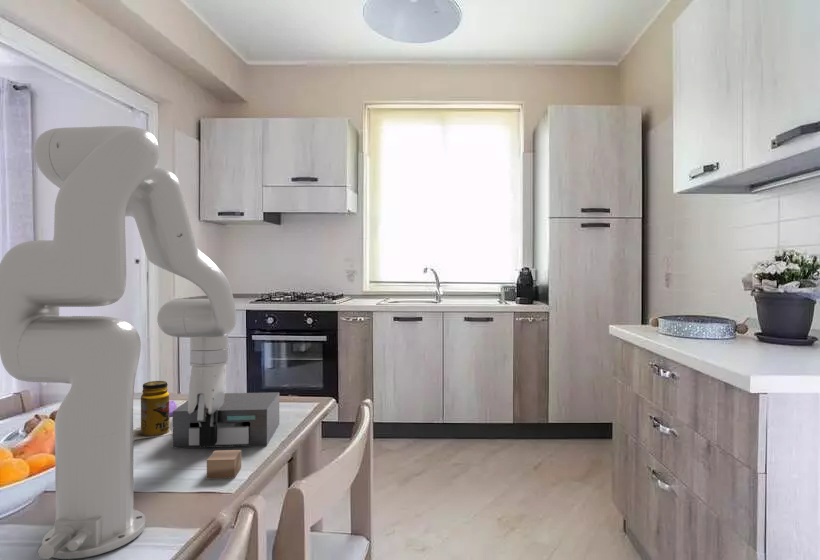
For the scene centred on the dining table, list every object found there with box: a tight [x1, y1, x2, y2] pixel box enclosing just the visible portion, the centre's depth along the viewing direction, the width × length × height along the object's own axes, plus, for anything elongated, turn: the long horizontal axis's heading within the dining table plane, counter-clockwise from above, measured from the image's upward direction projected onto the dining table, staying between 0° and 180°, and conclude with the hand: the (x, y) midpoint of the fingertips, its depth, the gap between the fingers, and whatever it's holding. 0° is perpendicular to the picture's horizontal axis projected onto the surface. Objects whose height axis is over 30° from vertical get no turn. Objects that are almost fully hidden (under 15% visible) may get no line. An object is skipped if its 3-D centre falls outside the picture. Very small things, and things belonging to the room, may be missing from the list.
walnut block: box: [206, 449, 242, 480], centre depth 96 cm, size 5×5×4 cm
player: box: [172, 392, 280, 449], centre depth 118 cm, size 16×20×8 cm
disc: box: [217, 422, 243, 427], centre depth 116 cm, size 7×7×2 cm
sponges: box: [169, 400, 178, 418], centre depth 138 cm, size 7×13×2 cm, turn 31°
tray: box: [189, 422, 250, 445], centre depth 117 cm, size 16×12×4 cm
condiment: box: [133, 380, 173, 441], centre depth 119 cm, size 7×8×12 cm
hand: (208, 444), depth 107 cm, fingers closed
